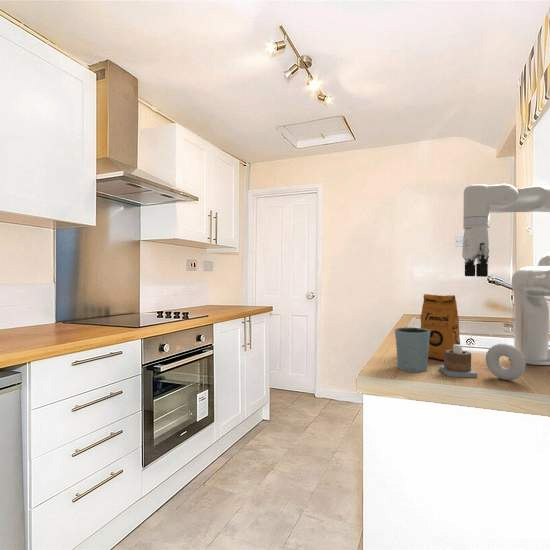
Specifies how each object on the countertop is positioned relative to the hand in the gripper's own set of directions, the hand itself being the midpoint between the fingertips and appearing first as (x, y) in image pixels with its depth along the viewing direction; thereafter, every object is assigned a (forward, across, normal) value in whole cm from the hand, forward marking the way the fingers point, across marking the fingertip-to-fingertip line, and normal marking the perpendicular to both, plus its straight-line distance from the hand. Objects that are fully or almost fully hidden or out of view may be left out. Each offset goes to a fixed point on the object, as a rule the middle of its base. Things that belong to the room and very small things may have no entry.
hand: (475, 276), depth 125 cm
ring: (+27, +14, -10) cm, 32 cm away
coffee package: (+28, -6, -9) cm, 30 cm away
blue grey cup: (+28, +10, -22) cm, 38 cm away
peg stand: (+28, +14, -10) cm, 33 cm away
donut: (+28, +19, +1) cm, 34 cm away
